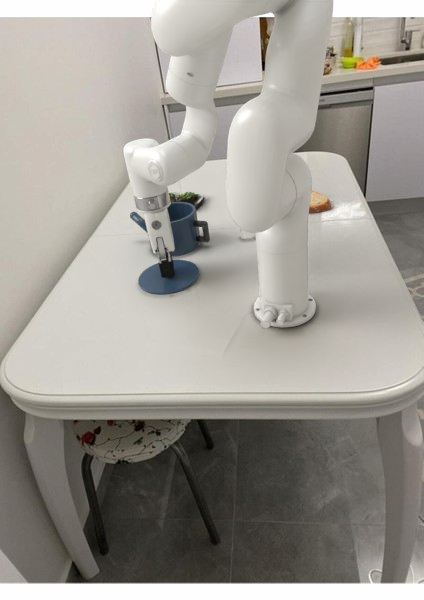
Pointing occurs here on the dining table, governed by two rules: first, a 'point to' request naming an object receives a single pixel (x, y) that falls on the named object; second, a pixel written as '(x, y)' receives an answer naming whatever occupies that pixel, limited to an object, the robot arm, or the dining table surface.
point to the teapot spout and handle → (203, 224)
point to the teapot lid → (169, 278)
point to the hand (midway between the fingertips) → (167, 271)
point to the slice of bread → (319, 203)
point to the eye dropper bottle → (247, 234)
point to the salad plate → (187, 198)
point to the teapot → (183, 227)
